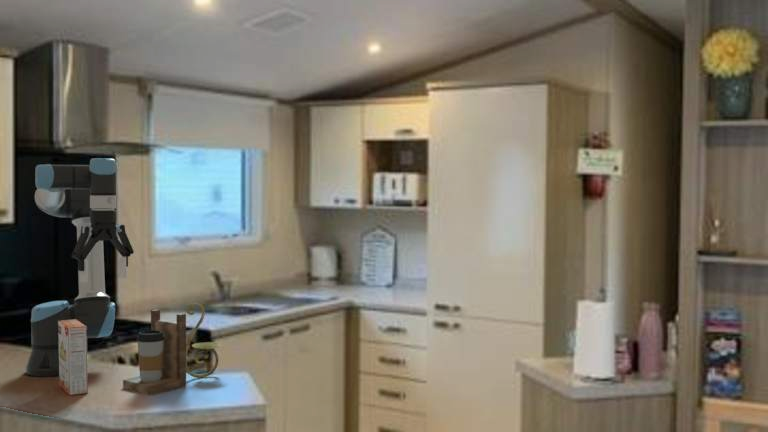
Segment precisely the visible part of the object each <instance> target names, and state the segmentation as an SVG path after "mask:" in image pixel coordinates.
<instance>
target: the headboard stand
mask: <svg viewBox="0 0 768 432" xmlns="http://www.w3.org/2000/svg"><path fill="white" fill-rule="evenodd" d="M150 330H157V331H162V332H163V335H164V345H163V365H162V377H161V380H160V381H157V382H142V381H141V379H140V375H139V376H134V377H130V378H126V379H122V389H126V388H127V389H126V390H130V389H131V391H134V390H135V391H134V392H138V391H139V393H142V392H143V393H142V394H146V393H147V394H146V395H150V396H154V395H158V394H162V393H165V392H170V391H174V390H177V389H181V388H185V387H187V372H186V344H187V314H186V313H178V314H176V321H172V320H168V319H167V320H166V319H161V310H160V309H151V310H150Z"/></svg>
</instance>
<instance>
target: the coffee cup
mask: <svg viewBox="0 0 768 432" xmlns="http://www.w3.org/2000/svg"><path fill="white" fill-rule="evenodd" d="M136 341H137V349H138V350H137V357H138V367H139V376H140V379H141V381H142V382H157V381H160V380H161V377H162V365H163V345H164V335H163V332H162V331H157V330H151V329H150V330H142V331H139V332H138V335H137V337H136Z"/></svg>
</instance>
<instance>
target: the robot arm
mask: <svg viewBox="0 0 768 432" xmlns="http://www.w3.org/2000/svg"><path fill="white" fill-rule="evenodd" d="M116 165H117V161H116V160H115V159H114V158H106V157H104V158H102V157H97V158H91V159H90V161H89V164H51V163H46V164H37V165H36V166H35V175H34V176H35V180H34V181H35V188H37V189H36V190H35V193H34V202H35V204H36V207H38V209H39V210H41V212H44V213H45V214H47V215H50V216H51V217H52V216H53V217H57V218H71V224H73V226H75V227H76V244H75V247H74V249H73V251H72V254H71V258H72V259H75V260H77V273H78V275H77V276H78V278H77V279H78V295H77V297H75V298H74V304H70V302H69V301H68V300H53V301H48V302H43V303H40V304H37V305H35V306H34V307H33V308H32V309H31V313H30V314H31V317H30V323H31V350H30V354H29V357H28V360H27V363H26V365H25V374H26V375H28V376H32V377H56V376H59V337H58V321H61V320H73V319H76V320H78V321H79V322H81V323H82V324H84V325H85V326H86V327H87V339H94V338H95V339H98V338H104V337H106V338H107V337H109V336H110V335H111V334H112V333H113V330H114V324H115V317H116V303H115V302H113V301H111V296H110V295H108V294H106V284H105V283H106V282H105V281H106V280H105V277H106V276H105V260H104V259H105V256H104V241H110V243H111V244H112V246H113V247H114V248H115V249H116V251H117V252H118V253H119V254H120V256H118V278H120V279H121V278H122V279H127V267H128V266H129V257H131V255H133V254H134V252H135V250H134V248H133V247H132V244H131V242H130V239H129V238H128V235H127V232H126V228H125V227H126V226H125V224H116V222H117V210H115V209H116V208H117V170H118V169H117V166H116ZM116 232H117V234H116ZM117 235H118V236H117Z"/></svg>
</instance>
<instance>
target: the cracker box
mask: <svg viewBox="0 0 768 432" xmlns="http://www.w3.org/2000/svg"><path fill="white" fill-rule="evenodd" d="M58 337H59V375H58V378H59V383H58V385H59V386H60V388H62V390H63V391H64V392H65V393H66V394H67V395H68V396H76V395H83V394H84V395H85V394H88V393H89V391H88V390H89V389H88V388H89V387H88V383H89V382H88V380H89V379H88V338H87V327H86V326H85V325H84V324H82V323H81V322H79V321H78V320H76V319H73V320H61V321H58Z"/></svg>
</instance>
